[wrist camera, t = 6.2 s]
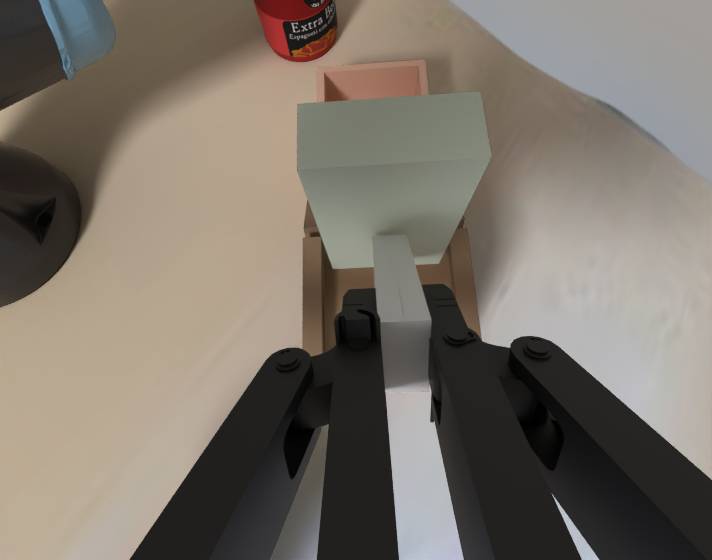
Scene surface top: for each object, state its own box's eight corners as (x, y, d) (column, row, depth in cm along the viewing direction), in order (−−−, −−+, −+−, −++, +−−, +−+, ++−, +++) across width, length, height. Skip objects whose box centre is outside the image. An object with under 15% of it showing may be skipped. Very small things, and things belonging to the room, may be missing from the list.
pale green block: (438, 263, 21) (491, 157, 11) (332, 269, 21) (297, 169, 12) (434, 223, 22) (480, 91, 12) (332, 228, 22) (297, 104, 12)
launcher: (445, 383, 29) (487, 380, 18) (329, 388, 29) (302, 387, 18) (426, 194, 33) (449, 102, 23) (326, 200, 34) (303, 112, 23)
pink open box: (428, 196, 33) (437, 163, 28) (326, 202, 34) (317, 171, 29) (418, 103, 36) (424, 59, 31) (324, 109, 36) (317, 67, 32)
